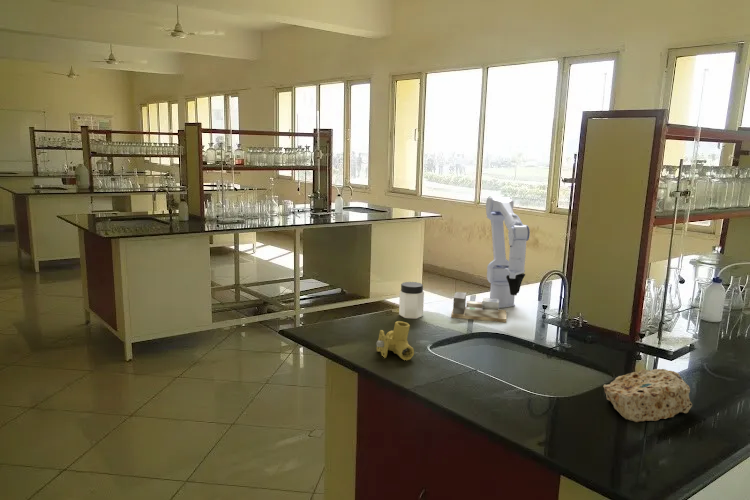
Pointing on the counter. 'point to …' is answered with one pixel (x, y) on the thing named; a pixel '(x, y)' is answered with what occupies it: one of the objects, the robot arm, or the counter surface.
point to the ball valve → (396, 341)
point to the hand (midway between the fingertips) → (514, 293)
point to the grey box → (490, 303)
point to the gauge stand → (475, 310)
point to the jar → (411, 300)
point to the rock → (649, 395)
